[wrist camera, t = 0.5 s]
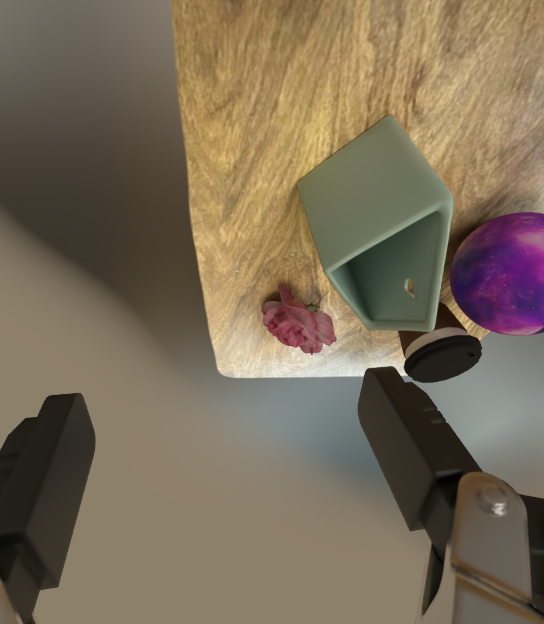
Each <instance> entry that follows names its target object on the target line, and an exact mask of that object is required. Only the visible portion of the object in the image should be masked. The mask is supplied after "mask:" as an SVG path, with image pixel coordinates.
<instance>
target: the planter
mask: <svg viewBox="0 0 544 624" xmlns="http://www.w3.org/2000/svg"><path fill="white" fill-rule="evenodd" d="M296 187H297V190H298V192H299V195H300V198H301V201H302V205H303V208H304V211H305V214H306V217H307V220H308V223H309V227H310V230H311V233H312V236H313V240H314V243H315V246H316V250H317V253H318V256H319V259H320V262H321V265H322V268H323V271H324V273H325V275H326V277H327V278H328V280H329V281H330V283H331V284H332V286H333V287H334V289H335V290H336V291H337V293H338V294H339V295H340V296H341V297H342V299H343V300H344V301H345V302H346V303H347V304H348V306H349V307H350V308H351V309H352V310H353V311H354V312H355V314H356V315H357V316H358V318H359V319H360V320H361V322H362V323H363V324H364V326H365V327H366V328H367V329H369V330H396V331H397V330H406V331H422V332H431V331H433V330H434V327H435V323H436V316H437V309H438V302H439V295H440V289H441V282H442V276H443V270H444V264H445V258H446V252H447V246H448V239H449V233H450V226H451V219H452V214H453V206H454V199H453V196H452V194H451V193H450V191H449V190H448V189H447V187H446V186H445V184H444V183H443V181H442V180H441V179H440V177H439V176H438V175H437V173H436V172H435V171H434V169H433V168H432V167H431V165H430V164H429V163H428V161H427V160H426V159H425V157H424V156H423V155H422V153H421V152H420V151H419V150H418V148H417V147H416V146H415V144H414V143H413V142H412V140H411V139H410V138H409V136H408V135H407V134H406V132H405V131H404V130H403V128H402V127H401V126H400V124H399V123H398V122H397V120H396V119H395V118H394V116H393V115H388V116H386V117H384V118H383V119H381V120H380V121H379V122H377V123H376V124H375V125H373V126H372V127H371V128H369V129H368V130H367V131H365V132H364V133H363V134H361V135H360V136H358V137H357V138H356V139H354V140H353V141H352V142H350V143H349V144H347V145H346V146H345V147H343V148H342V149H340V150H339V151H338V152H336V153H335V154H334V155H332V156H331V157H329V158H328V159H327V160H325V161H324V162H322V163H321V164H320V165H318V166H317V167H316V168H314V169H313V170H312V171H311V172H309V173H308V174H307V175H306V176H304V177H303V178H302V179H301V180H299V181H298V182H297V184H296ZM410 279H411V280H412V282H413V289H414V291H415V297H414V296H413V294H412V293H409V292H408V282H409V280H410Z"/></svg>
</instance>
